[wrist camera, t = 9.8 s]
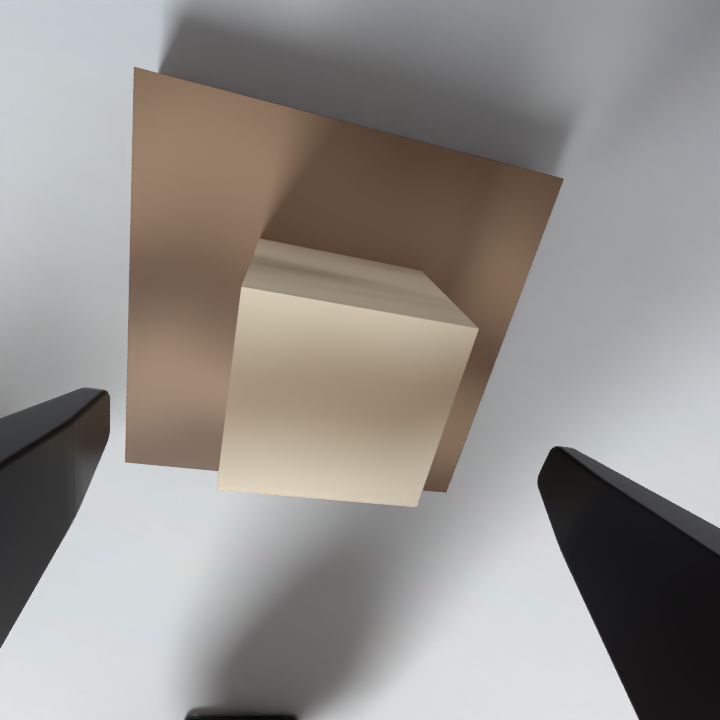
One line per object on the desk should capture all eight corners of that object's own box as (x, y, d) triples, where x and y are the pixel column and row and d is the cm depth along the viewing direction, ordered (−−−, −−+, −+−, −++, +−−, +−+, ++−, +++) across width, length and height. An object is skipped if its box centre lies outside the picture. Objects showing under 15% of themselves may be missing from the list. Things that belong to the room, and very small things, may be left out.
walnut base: (432, 461, 20) (445, 492, 18) (142, 430, 18) (125, 462, 16) (532, 174, 15) (563, 178, 14) (156, 77, 13) (134, 66, 11)
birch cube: (383, 406, 16) (416, 507, 12) (239, 388, 15) (216, 490, 11) (421, 270, 14) (478, 328, 10) (259, 238, 13) (241, 287, 9)
